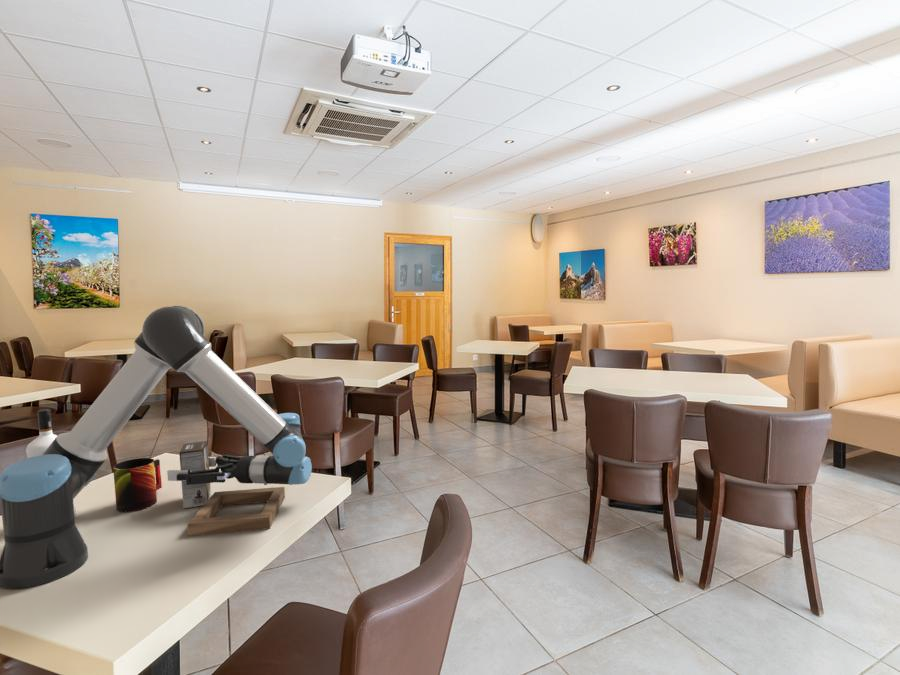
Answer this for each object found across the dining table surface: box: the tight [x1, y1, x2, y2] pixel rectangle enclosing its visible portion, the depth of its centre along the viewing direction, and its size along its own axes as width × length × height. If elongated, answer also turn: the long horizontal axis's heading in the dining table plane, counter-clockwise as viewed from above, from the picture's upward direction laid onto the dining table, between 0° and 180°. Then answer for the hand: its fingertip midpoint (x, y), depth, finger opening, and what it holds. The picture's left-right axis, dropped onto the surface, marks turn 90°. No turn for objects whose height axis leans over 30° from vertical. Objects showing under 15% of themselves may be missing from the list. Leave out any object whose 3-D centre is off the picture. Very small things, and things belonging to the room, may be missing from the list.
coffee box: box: [178, 440, 212, 509], centre depth 139 cm, size 9×6×16 cm
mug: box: [112, 457, 163, 513], centre depth 140 cm, size 10×14×12 cm
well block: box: [187, 486, 286, 536], centre depth 130 cm, size 20×19×3 cm
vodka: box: [25, 408, 77, 517], centre depth 127 cm, size 9×9×30 cm
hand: (182, 468), depth 140 cm, fingers closed on coffee box, 11 cm apart
